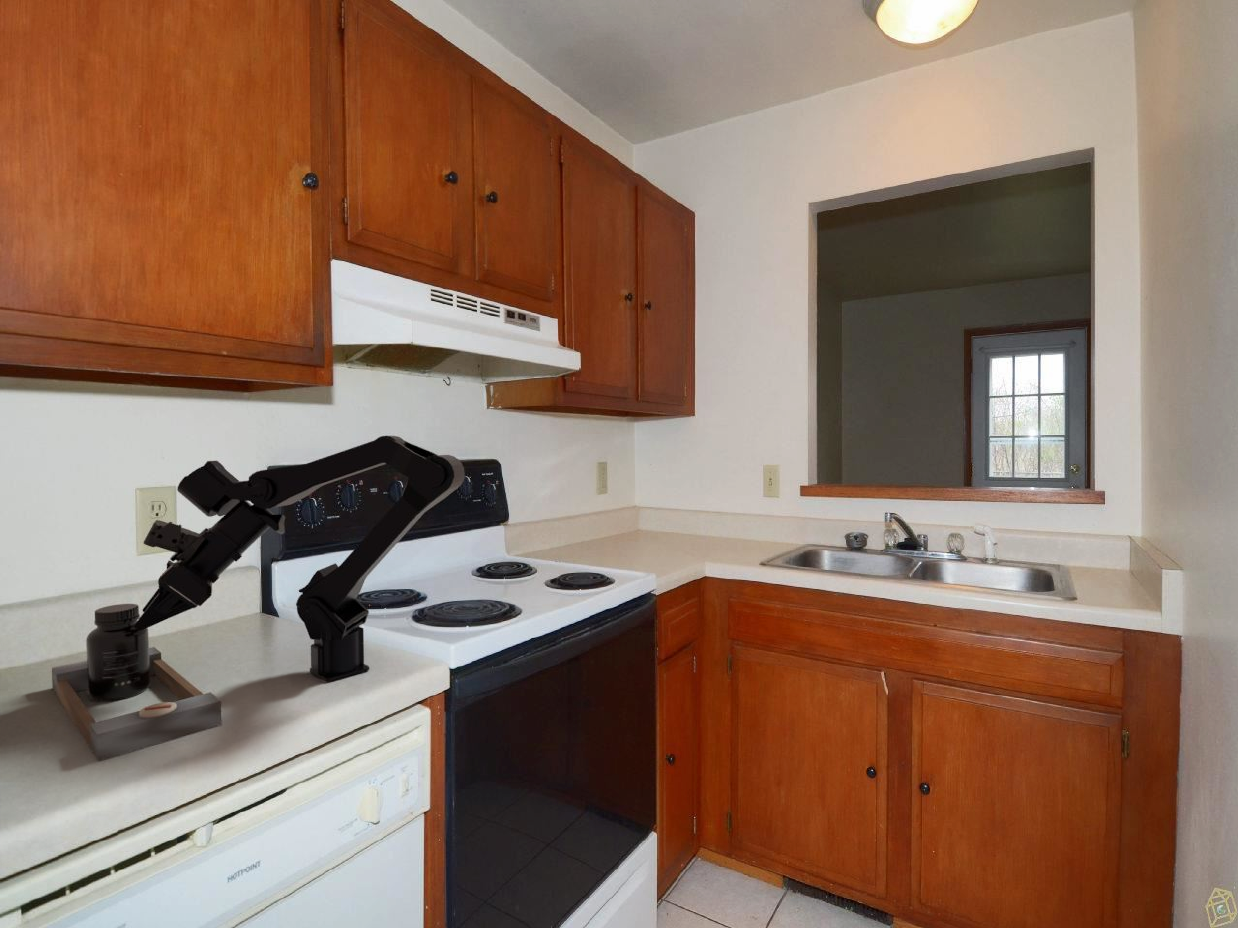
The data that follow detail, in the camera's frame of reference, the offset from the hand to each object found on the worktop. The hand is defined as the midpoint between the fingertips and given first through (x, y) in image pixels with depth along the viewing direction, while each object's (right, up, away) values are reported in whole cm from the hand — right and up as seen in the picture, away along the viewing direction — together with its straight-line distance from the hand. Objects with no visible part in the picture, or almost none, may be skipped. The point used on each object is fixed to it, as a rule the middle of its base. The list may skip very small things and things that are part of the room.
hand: (141, 620), depth 90 cm
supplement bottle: (-2, -10, -1) cm, 10 cm away
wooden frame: (+3, -10, -5) cm, 12 cm away
